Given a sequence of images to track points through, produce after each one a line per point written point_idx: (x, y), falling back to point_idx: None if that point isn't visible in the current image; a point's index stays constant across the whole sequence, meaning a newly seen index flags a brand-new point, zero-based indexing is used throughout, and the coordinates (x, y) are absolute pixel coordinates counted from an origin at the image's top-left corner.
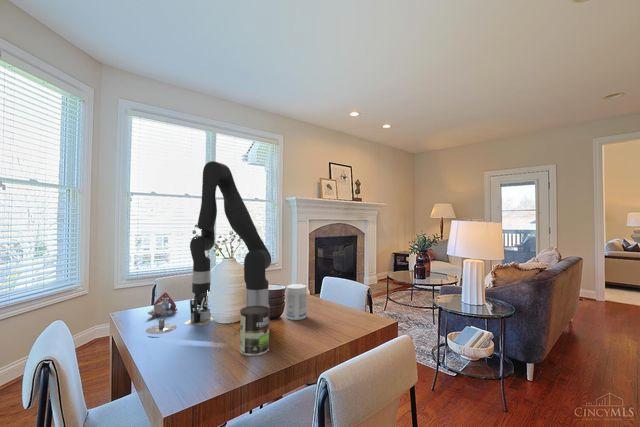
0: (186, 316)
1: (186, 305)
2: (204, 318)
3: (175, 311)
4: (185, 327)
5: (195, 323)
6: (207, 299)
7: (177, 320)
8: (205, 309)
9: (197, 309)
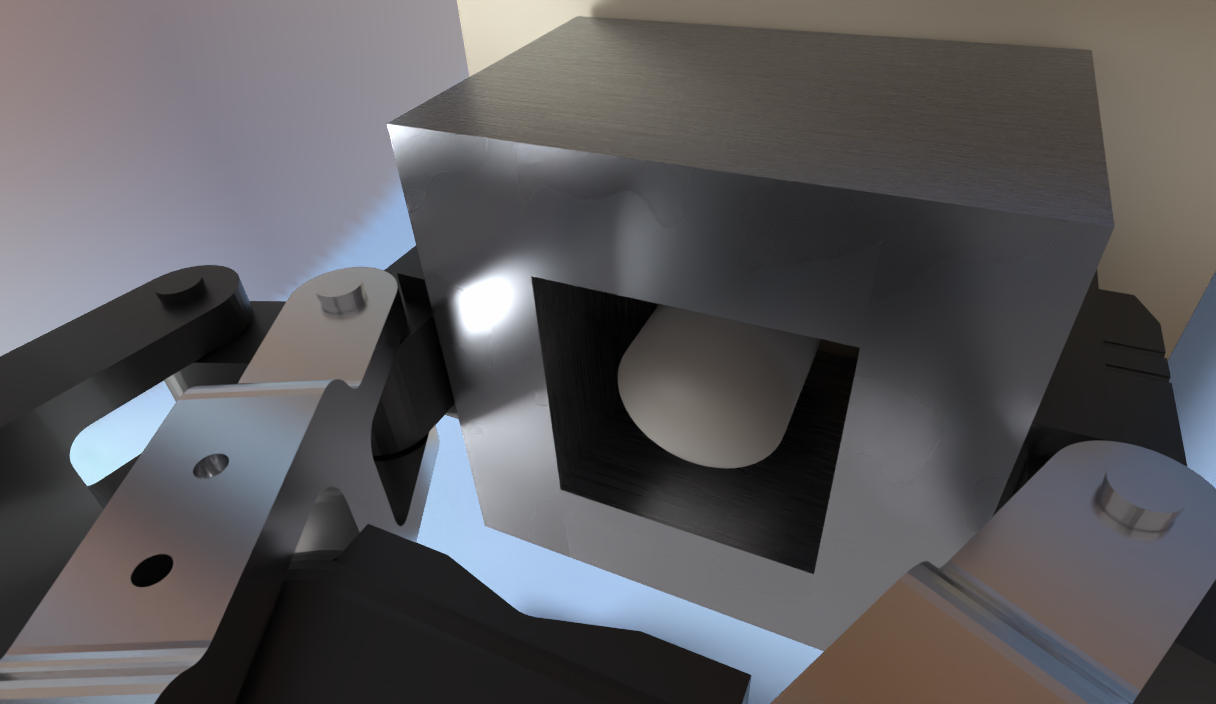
0: None
1: None
2: (1027, 98)
3: None
4: None
5: None
6: (73, 598)
7: (671, 599)
8: (499, 318)
9: (572, 535)
